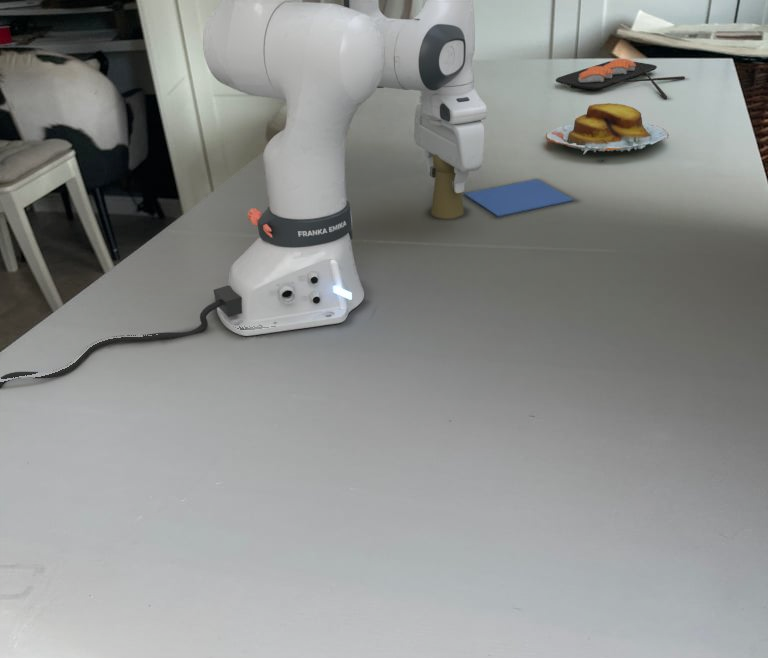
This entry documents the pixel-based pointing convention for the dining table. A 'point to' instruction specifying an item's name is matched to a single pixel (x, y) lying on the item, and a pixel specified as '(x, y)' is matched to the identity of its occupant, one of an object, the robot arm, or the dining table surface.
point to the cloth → (518, 197)
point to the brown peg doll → (445, 192)
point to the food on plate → (608, 130)
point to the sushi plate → (611, 75)
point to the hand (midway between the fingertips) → (446, 183)
